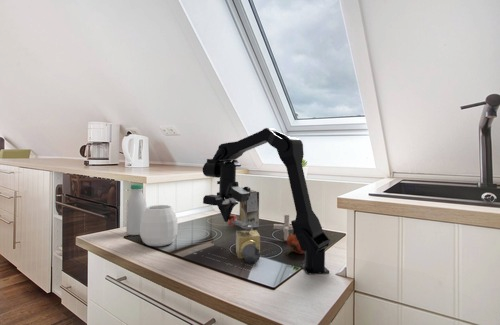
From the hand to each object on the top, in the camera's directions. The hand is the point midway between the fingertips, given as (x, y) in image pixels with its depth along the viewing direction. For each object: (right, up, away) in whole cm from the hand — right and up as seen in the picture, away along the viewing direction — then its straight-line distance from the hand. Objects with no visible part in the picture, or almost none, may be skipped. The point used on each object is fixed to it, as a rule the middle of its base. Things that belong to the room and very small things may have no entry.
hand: (226, 221), depth 106 cm
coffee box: (+8, -8, +30) cm, 32 cm away
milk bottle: (-38, -8, +14) cm, 41 cm away
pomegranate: (+24, -10, -7) cm, 27 cm away
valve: (+8, -9, -8) cm, 15 cm away
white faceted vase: (-25, -9, +1) cm, 26 cm away
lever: (+5, -2, -3) cm, 6 cm away
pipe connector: (+23, -9, +8) cm, 26 cm away
